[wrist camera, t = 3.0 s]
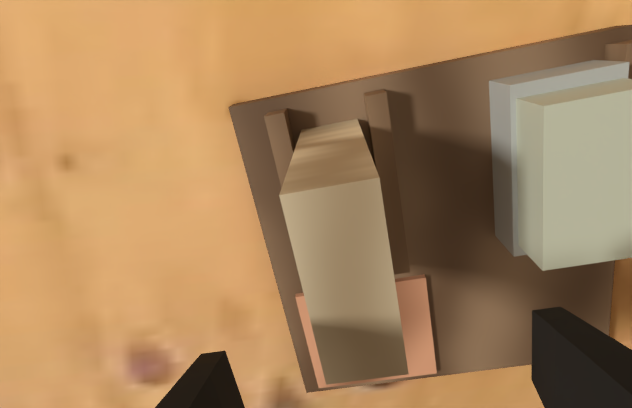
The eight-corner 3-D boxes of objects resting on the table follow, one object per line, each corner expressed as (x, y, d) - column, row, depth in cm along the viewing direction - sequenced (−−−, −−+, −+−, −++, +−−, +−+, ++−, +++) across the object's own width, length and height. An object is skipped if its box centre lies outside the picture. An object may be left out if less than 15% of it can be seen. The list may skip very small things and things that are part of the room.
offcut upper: (518, 245, 16) (542, 270, 15) (515, 98, 14) (543, 106, 12) (610, 231, 16) (647, 255, 14) (622, 77, 14) (667, 82, 12)
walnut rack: (307, 378, 23) (305, 410, 21) (233, 104, 18) (221, 111, 16) (595, 341, 22) (622, 372, 20) (616, 26, 16) (658, 23, 14)
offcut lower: (495, 235, 18) (513, 256, 17) (488, 80, 16) (509, 85, 14) (585, 221, 18) (615, 241, 16) (593, 60, 16) (629, 61, 14)
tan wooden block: (327, 252, 19) (325, 384, 12) (301, 129, 17) (279, 195, 10) (377, 244, 19) (408, 374, 11) (357, 118, 17) (379, 177, 9)
